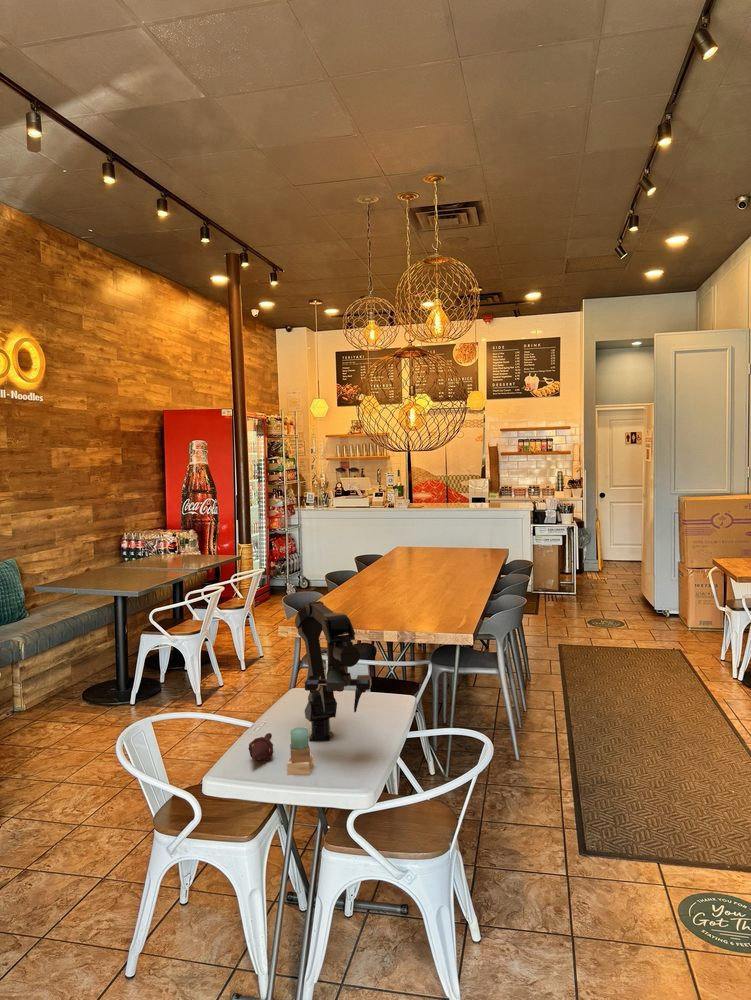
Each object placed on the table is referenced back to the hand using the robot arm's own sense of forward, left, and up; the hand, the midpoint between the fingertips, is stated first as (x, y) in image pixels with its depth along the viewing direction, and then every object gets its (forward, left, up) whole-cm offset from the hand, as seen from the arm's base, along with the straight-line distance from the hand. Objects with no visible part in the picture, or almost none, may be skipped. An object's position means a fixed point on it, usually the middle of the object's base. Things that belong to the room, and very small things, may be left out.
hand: (339, 712), depth 203 cm
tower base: (+9, -10, -13) cm, 19 cm away
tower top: (+9, -10, -10) cm, 17 cm away
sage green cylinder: (+10, -10, -6) cm, 15 cm away
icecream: (+3, -23, -13) cm, 26 cm away
